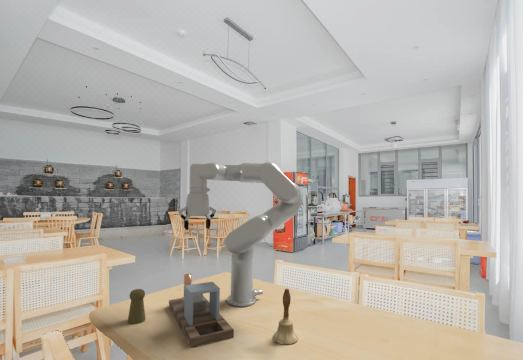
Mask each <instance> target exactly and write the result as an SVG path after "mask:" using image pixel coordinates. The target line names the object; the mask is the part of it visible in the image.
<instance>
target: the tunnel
mask: <svg viewBox="0 0 523 360" xmlns="http://www.w3.org/2000/svg"><path fill="white" fill-rule="evenodd" d="M220 290H221V288H220V286H219V285H217V284H216V283H215V282H214V281H206V282H200V283H193V284H192V283H191V285H185V297H184V296H183V297H184V317H185V319H186V320H187V322H188V324H189V325H190V326H191V325H193V295H198V294H203V295H204V294H209V300H208V301H209V312H210V313H211V314H212V315H213V317H214V318H215V319H216V320H219V314H220V302H221V301H220V296H221V295H220V293H221V291H220Z"/></svg>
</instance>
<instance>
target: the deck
mask: <svg viewBox="0 0 523 360" xmlns="http://www.w3.org/2000/svg"><path fill="white" fill-rule="evenodd" d="M203 298H204V299H205V300H206V309H203V310H198V311H193V325H191V326H190V325H189V324H188V322H187V320H186V319H185V317H184V307H183V306H182V297H180V298H179V297H178V298H175V299H174V298H173V299H169V300H168V307H169V309H170V311H171V312H172V314H173V317H174V318H175V320H176V322H177V323H178V326H179V327H180V329H181V331H182V333H183V335H184V337H185V338H186V340H187V343H188V344H189V346H190V348H196V347H200V346H204V345H208V344H212V343H215V342H220V341H224V340H227V339H233V338H235V336H234V335H235V328H233V327H232V326H231V325H230V324H229V322H228V321H227V320H226V319H225V318H224V317H223V316H222V315H221V313H219V320H216V319H215V318H214V317H213V315H212V314H211V313H210V312H209V300H208V299H207V298H206V297H205V295H203Z"/></svg>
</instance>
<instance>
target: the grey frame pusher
mask: <svg viewBox="0 0 523 360" xmlns="http://www.w3.org/2000/svg"><path fill="white" fill-rule="evenodd" d="M192 279H193V278H192V273H185V274H184V275H183V296H182V297H181V298H182V306H183V307H184V297H185V285H192V282H193V281H192ZM202 309H206V300H205V299H204V298H203V301H199V302H194V303H193V311H197V310H202Z"/></svg>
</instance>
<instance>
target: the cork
mask: <svg viewBox="0 0 523 360" xmlns="http://www.w3.org/2000/svg"><path fill="white" fill-rule="evenodd" d="M145 297H146V292H145V290H144V289H143V288H136V289H132V290H131V291H130V293H129V299H130V306H129V310H128V311H129V312H128V318H127V323H128V324H130V325H138V324H142V323H143V322H146V311H145V304H144V298H145Z"/></svg>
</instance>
